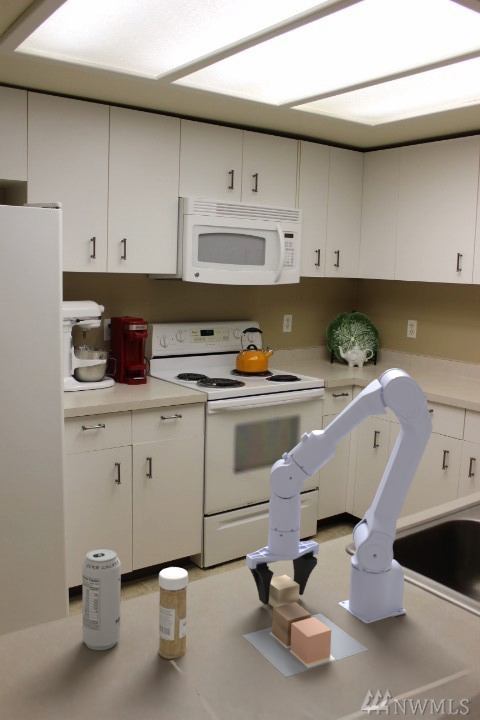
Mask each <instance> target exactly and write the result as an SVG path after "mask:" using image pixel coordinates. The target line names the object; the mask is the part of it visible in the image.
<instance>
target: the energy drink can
mask: <svg viewBox="0 0 480 720" xmlns="http://www.w3.org/2000/svg"><path fill="white" fill-rule="evenodd" d="M85 556H86V558H85V559H84V561H83V563H82V572H81V573H82V641H83V642H84V643H85V644H86V646H87V647H88V648H89V649H91V650H94V651H105V650H108V649H111V648H113V647H114V646H116V644H117V643H118V641H119V640H120V638H121V612H122V611H121V609H122V608H121V602H122V600H121V596H122V595H121V592H122V588H121V584H122V583H121V582H122V579H121V578H122V577H121V575H122V574H121V573H122V572H121V571H122V569H121V568H122V564H121V560H120V559H119V557H118V553H117V551H116V550H114V549H112V548H108V547H107V548H106V547H105V548H104V547H100V548H95V549H94V548H93V549H92V550H89V551H88V552H87V553H86V555H85Z"/></svg>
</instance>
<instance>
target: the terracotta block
mask: <svg viewBox="0 0 480 720" xmlns="http://www.w3.org/2000/svg"><path fill="white" fill-rule="evenodd" d="M330 649H331V629H330V628H328V627H327V626H326V625H324V624H323V623H322V622H321V621H319V620H318V619H317V618H315V617H312V618H308V619H305V620H301V621H298V622H294V623H292V624H291V649H290V650H291V651H293V652H294V653H295V654H296V655H297V656H298V657H299V658H300V659H302V660H303V661H304V662H305V663H306V664H309V663H312V662H315V661H318V660H321V659H324V658H327V657H330Z"/></svg>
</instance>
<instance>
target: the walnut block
mask: <svg viewBox="0 0 480 720" xmlns="http://www.w3.org/2000/svg"><path fill="white" fill-rule="evenodd" d="M311 616H312V614H311V613H310V612H309V611H308V610H306V609H305V608H304V607H303V606H301V605H300V604H297V603H296V602H294V603H290V604H286V605H283V606H279V607H275V608H274V607H272V624H271V625H272V626H271V627H272V634H273V635H275V636H276V637H277V638H278V639H279V640H280V641H281V642H282V643H284V644H285V645H286V646H287V647H288V646H291V624H292V623H294V622H298V621H301V620H305V619H308V618H311Z"/></svg>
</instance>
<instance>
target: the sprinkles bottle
mask: <svg viewBox="0 0 480 720" xmlns="http://www.w3.org/2000/svg"><path fill="white" fill-rule="evenodd" d="M188 583H189V573H188V571H187V570H186V569H184V568H181V567H178V566H177V567H176V566H175V567H174V566H170V567H167V568H163V569H162V570H161V571H160V572H159V574H158V587H159V603H158V608H159V609H158V611H159V612H158V634H159V647H158V654H159V655H160V657H161V658H163V659H167V660H173V658H179V657H182V656H183V655H184V654H186V653H187V649H188V648H187V614H188V613H187V610H188V607H187V588H188Z"/></svg>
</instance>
